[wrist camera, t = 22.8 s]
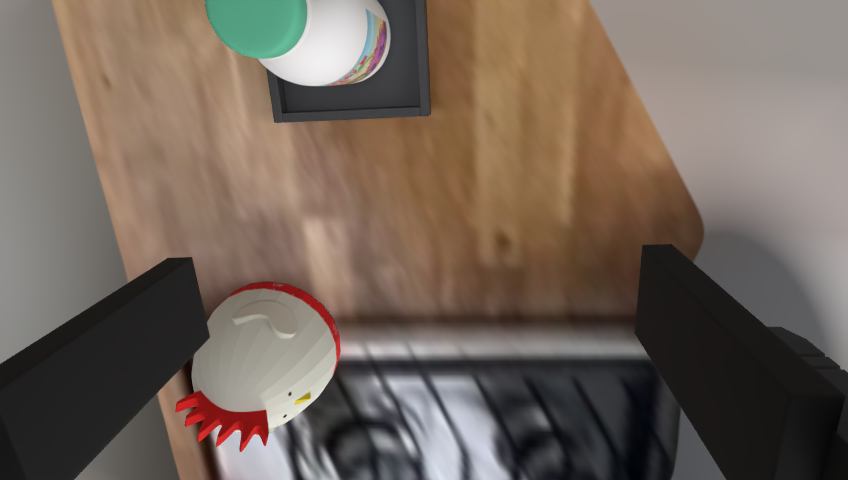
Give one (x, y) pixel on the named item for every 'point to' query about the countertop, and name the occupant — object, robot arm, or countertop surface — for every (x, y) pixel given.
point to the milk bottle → (306, 37)
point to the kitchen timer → (261, 361)
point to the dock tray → (377, 95)
